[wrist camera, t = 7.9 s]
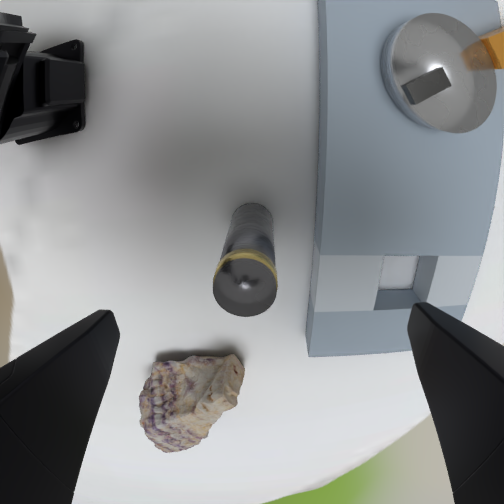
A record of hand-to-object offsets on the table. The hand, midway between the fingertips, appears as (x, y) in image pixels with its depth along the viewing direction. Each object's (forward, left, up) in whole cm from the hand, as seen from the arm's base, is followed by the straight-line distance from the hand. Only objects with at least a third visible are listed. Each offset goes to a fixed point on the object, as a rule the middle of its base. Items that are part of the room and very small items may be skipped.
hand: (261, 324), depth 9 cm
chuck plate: (+9, +3, -12) cm, 15 cm away
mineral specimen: (-6, -17, -12) cm, 22 cm away
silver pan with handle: (+13, +11, -9) cm, 19 cm away
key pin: (-1, -1, -12) cm, 12 cm away
